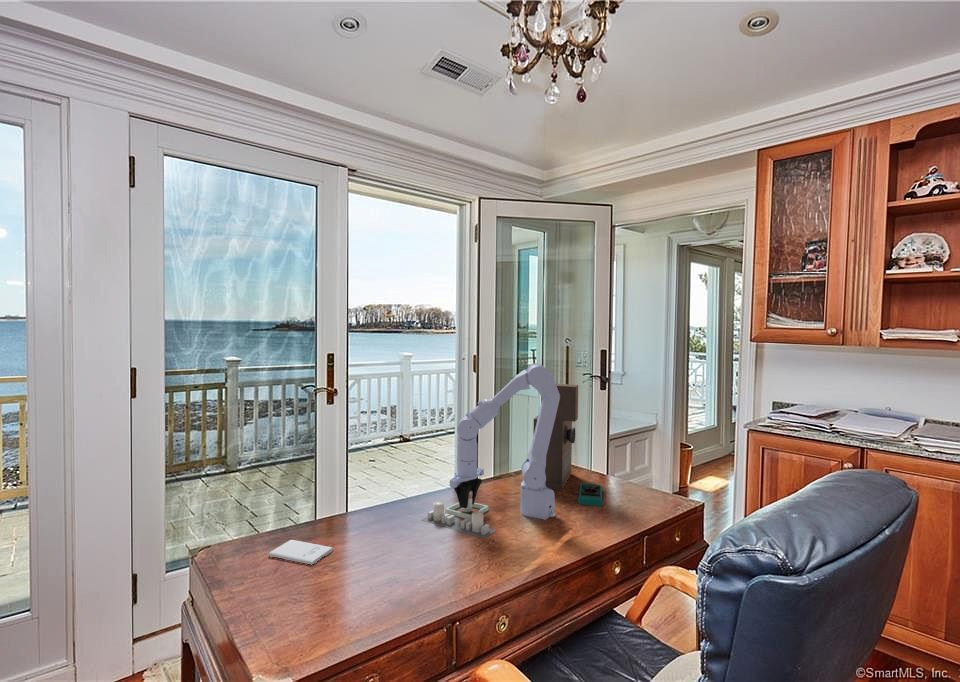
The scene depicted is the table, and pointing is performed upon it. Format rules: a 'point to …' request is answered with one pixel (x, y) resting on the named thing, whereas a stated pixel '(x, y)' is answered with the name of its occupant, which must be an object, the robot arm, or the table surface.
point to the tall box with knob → (561, 437)
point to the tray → (463, 515)
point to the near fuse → (477, 522)
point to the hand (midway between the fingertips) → (467, 505)
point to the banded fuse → (469, 503)
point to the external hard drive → (301, 551)
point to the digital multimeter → (590, 494)
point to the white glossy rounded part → (438, 511)
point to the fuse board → (459, 525)
